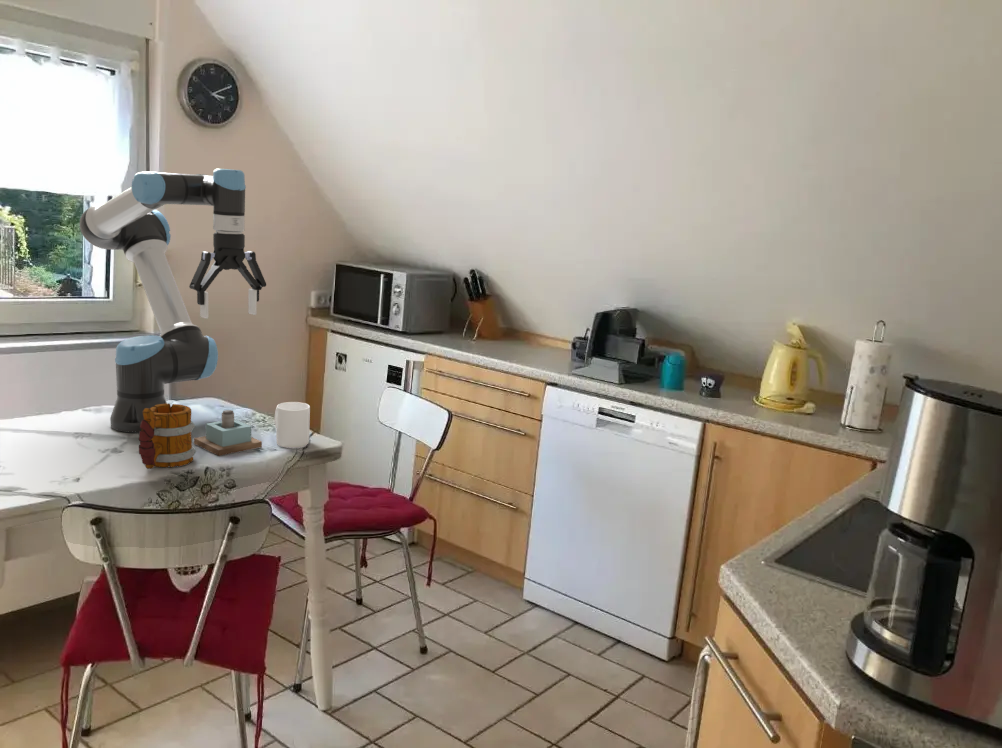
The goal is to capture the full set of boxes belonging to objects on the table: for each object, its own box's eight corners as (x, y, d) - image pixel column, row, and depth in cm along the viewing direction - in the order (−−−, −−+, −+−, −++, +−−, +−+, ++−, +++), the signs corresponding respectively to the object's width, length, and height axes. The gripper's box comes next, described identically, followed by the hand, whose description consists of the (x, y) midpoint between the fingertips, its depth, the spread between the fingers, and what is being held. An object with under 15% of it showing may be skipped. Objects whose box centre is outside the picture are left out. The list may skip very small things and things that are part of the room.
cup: (288, 450, 216) (289, 412, 214) (261, 439, 224) (262, 401, 222) (315, 444, 222) (316, 407, 220) (288, 433, 230) (288, 397, 228)
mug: (204, 457, 207) (203, 397, 204) (162, 478, 191) (161, 414, 188) (164, 450, 209) (163, 391, 206) (120, 471, 194) (119, 407, 190)
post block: (193, 443, 216) (193, 409, 214) (236, 435, 225) (236, 402, 223) (218, 456, 208) (218, 420, 206) (261, 447, 217) (262, 413, 215)
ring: (205, 438, 216) (205, 423, 215) (234, 433, 222) (234, 418, 221) (222, 446, 211) (222, 431, 210) (251, 441, 217) (251, 426, 216)
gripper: (190, 233, 202) (190, 321, 207) (280, 233, 221) (279, 314, 225) (174, 230, 207) (175, 316, 212) (264, 231, 225) (263, 310, 230)
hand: (228, 316), depth 219 cm, fingers open, 13 cm apart
